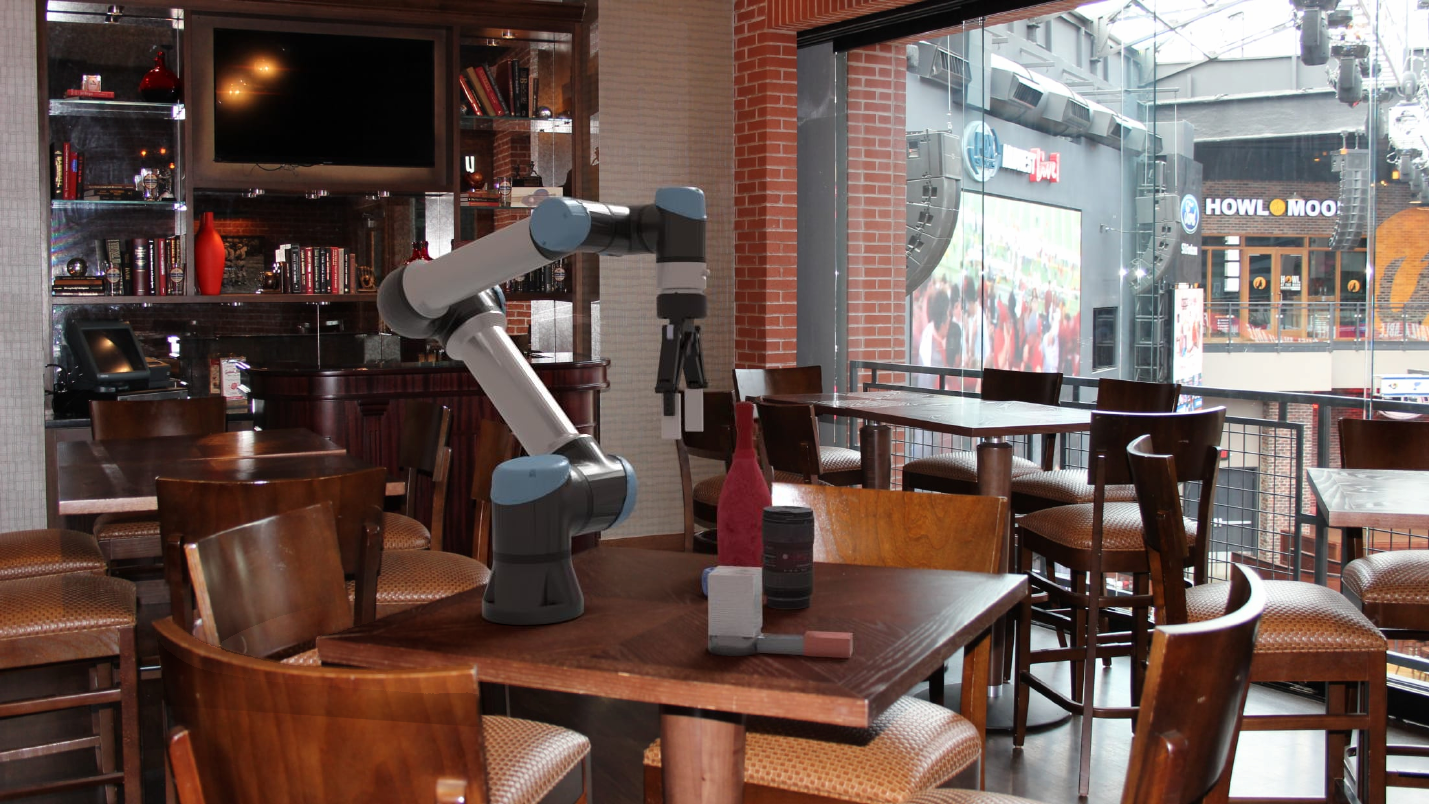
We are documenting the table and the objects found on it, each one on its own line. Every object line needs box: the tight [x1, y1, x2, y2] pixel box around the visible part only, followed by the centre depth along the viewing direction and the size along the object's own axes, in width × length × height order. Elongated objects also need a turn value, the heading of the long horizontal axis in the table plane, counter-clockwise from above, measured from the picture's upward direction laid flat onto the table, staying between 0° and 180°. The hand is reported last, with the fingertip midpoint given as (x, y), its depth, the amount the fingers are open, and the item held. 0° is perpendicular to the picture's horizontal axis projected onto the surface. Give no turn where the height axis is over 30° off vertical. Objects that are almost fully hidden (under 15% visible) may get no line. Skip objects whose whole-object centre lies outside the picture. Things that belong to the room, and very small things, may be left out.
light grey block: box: [707, 565, 763, 637], centre depth 163 cm, size 6×6×8 cm
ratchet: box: [707, 628, 854, 659], centre depth 162 cm, size 19×7×6 cm, turn 77°
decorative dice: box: [701, 566, 717, 597], centre depth 197 cm, size 4×4×4 cm
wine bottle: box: [716, 400, 774, 571], centre depth 214 cm, size 10×10×30 cm
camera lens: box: [761, 505, 816, 610], centre depth 189 cm, size 8×8×15 cm
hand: (683, 435), depth 184 cm, fingers open, 13 cm apart
